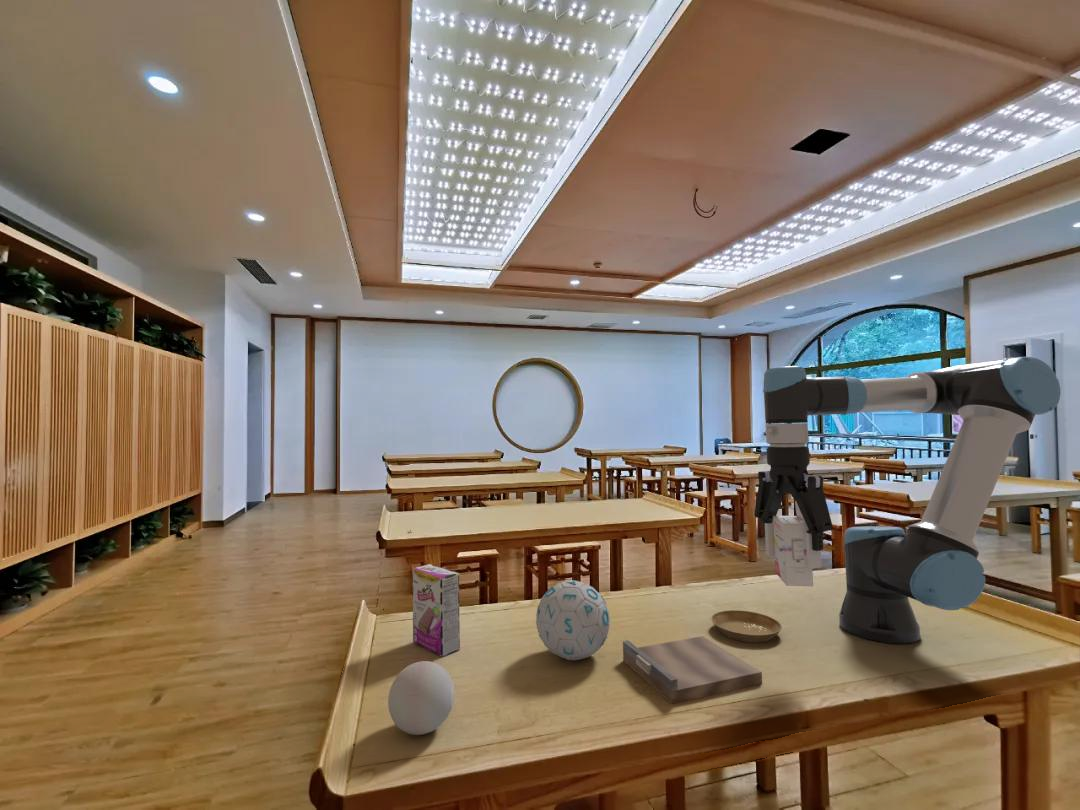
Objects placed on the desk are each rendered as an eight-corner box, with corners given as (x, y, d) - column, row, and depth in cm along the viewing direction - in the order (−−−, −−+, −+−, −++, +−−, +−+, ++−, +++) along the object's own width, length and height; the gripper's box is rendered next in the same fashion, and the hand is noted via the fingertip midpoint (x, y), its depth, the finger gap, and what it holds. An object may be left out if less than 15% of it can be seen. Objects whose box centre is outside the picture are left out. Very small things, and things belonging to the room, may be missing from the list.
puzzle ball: (557, 680, 94) (556, 598, 94) (525, 649, 107) (524, 577, 108) (625, 663, 100) (623, 586, 101) (586, 635, 114) (585, 568, 114)
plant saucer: (738, 616, 124) (738, 605, 124) (796, 636, 112) (795, 624, 112) (698, 630, 116) (697, 618, 116) (755, 653, 104) (754, 640, 104)
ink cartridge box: (773, 573, 103) (770, 500, 103) (800, 574, 102) (796, 500, 102) (785, 586, 94) (781, 506, 95) (814, 587, 93) (810, 507, 94)
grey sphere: (396, 713, 84) (396, 651, 84) (458, 710, 84) (457, 649, 85) (380, 751, 74) (380, 681, 74) (450, 748, 74) (450, 678, 75)
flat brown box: (702, 645, 107) (702, 627, 108) (762, 683, 91) (761, 661, 91) (620, 661, 101) (620, 641, 101) (668, 704, 85) (668, 681, 85)
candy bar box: (411, 643, 111) (411, 567, 112) (430, 636, 115) (429, 563, 116) (441, 658, 104) (441, 577, 104) (461, 650, 107) (460, 572, 108)
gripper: (732, 444, 108) (737, 550, 107) (820, 447, 87) (826, 578, 86) (760, 443, 111) (765, 547, 110) (852, 446, 90) (859, 573, 89)
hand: (792, 561), depth 98 cm, fingers closed on ink cartridge box, 9 cm apart
